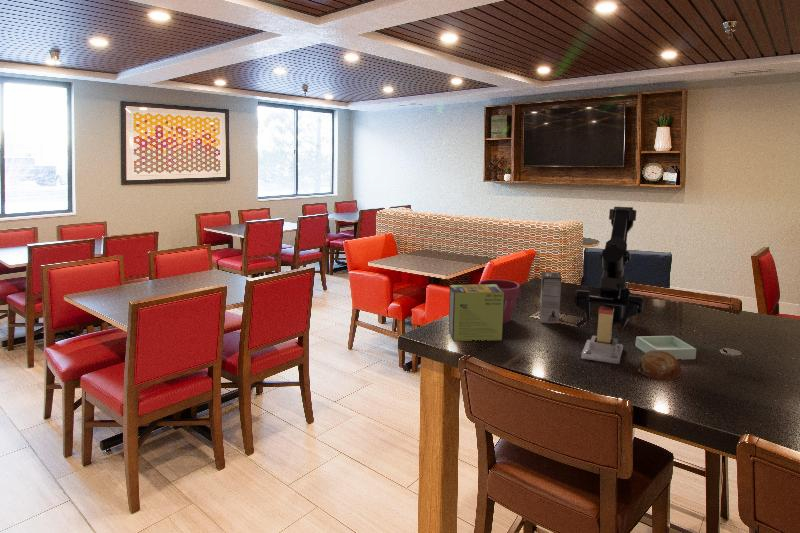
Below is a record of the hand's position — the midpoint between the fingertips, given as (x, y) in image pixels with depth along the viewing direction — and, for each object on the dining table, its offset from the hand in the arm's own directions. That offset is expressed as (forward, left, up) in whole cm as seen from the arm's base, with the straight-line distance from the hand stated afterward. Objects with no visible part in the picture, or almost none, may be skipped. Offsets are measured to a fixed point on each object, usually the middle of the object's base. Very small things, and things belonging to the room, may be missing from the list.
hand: (604, 326), depth 159 cm
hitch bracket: (+1, +1, -8) cm, 8 cm away
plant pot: (+8, -40, -8) cm, 42 cm away
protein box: (+25, -29, -8) cm, 39 cm away
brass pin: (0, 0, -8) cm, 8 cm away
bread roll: (-2, +18, -8) cm, 20 cm away
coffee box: (-8, -32, -8) cm, 34 cm away
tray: (-16, +8, -8) cm, 20 cm away
